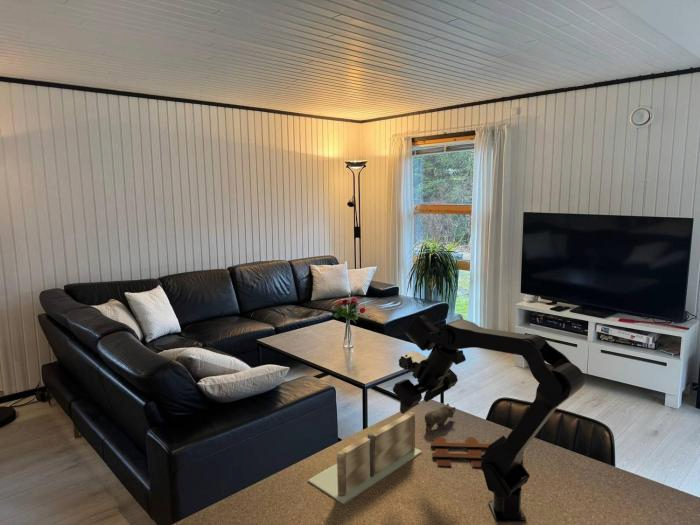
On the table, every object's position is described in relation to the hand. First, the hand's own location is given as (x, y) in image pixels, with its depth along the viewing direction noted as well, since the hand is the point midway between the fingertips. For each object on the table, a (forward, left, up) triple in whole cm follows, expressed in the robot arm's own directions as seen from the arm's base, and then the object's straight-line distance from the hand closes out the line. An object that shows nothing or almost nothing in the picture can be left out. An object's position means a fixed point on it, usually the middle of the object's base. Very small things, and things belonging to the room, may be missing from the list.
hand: (413, 406), depth 124 cm
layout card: (-1, +12, -16) cm, 20 cm away
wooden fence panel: (-9, +15, -15) cm, 23 cm away
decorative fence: (+4, -17, -17) cm, 24 cm away
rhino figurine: (+19, -11, -16) cm, 27 cm away
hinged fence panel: (+1, +5, -15) cm, 16 cm away
